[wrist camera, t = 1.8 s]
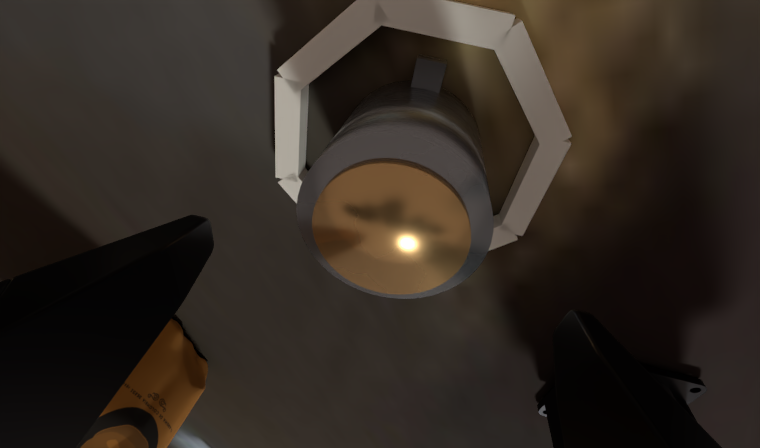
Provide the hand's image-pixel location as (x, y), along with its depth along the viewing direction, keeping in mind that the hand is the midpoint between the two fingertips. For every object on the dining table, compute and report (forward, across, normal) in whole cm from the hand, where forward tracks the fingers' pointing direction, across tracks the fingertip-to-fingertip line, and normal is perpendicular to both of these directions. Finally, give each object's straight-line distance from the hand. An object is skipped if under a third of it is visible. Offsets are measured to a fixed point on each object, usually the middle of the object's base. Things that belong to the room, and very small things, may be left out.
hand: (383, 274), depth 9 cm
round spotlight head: (+7, 0, 0) cm, 7 cm away
